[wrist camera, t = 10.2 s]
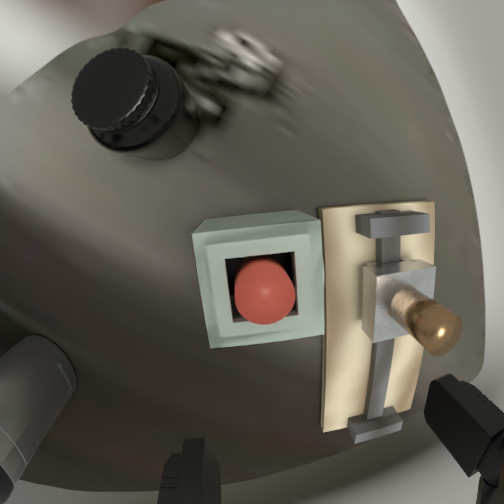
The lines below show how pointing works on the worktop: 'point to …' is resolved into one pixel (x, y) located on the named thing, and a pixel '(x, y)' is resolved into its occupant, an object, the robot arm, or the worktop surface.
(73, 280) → the worktop surface
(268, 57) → the worktop surface
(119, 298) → the worktop surface
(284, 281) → the button
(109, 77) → the supplement bottle
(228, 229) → the button box
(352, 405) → the rail track
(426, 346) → the carriage
